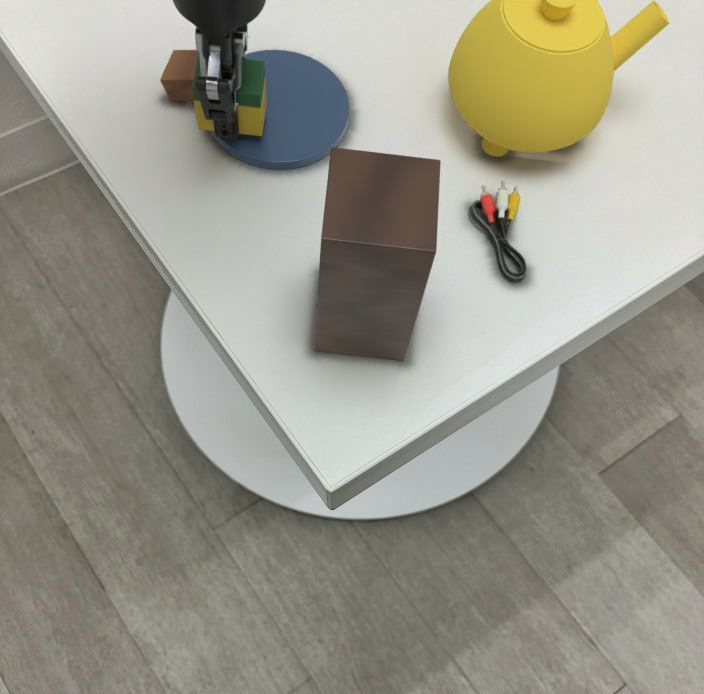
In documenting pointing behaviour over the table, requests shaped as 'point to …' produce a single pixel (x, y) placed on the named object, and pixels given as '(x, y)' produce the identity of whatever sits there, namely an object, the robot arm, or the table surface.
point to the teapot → (541, 70)
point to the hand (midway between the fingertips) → (230, 115)
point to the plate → (294, 113)
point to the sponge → (241, 99)
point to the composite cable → (500, 226)
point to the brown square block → (180, 75)
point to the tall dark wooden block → (375, 251)
